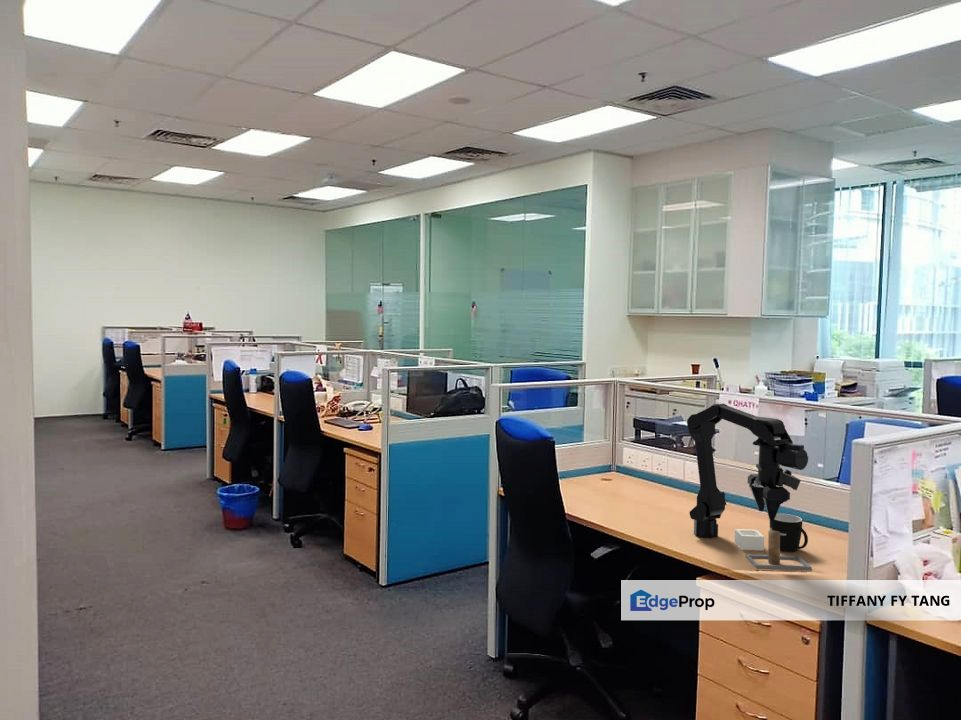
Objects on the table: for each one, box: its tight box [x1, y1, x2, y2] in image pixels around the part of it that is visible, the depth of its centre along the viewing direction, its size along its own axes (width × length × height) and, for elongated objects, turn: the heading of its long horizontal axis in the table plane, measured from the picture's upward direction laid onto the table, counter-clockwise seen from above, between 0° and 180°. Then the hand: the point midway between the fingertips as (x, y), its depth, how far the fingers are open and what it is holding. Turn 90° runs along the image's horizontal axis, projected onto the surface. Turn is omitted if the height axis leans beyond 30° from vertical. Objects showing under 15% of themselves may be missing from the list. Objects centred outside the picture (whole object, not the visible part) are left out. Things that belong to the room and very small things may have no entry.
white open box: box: [733, 528, 765, 551], centre depth 209 cm, size 7×7×5 cm
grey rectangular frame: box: [745, 553, 813, 573], centre depth 195 cm, size 15×9×2 cm, turn 86°
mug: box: [769, 513, 809, 553], centre depth 206 cm, size 12×9×10 cm
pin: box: [767, 530, 781, 565], centre depth 195 cm, size 3×3×9 cm
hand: (766, 515), depth 201 cm, fingers open, 9 cm apart
